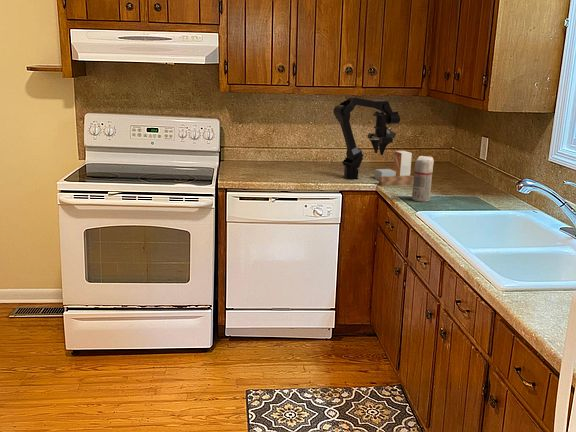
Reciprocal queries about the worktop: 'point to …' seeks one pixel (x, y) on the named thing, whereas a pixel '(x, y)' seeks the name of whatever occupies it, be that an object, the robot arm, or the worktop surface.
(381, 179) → the board
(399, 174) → the small box
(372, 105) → the robot arm
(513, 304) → the worktop surface
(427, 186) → the spray can
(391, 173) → the block
